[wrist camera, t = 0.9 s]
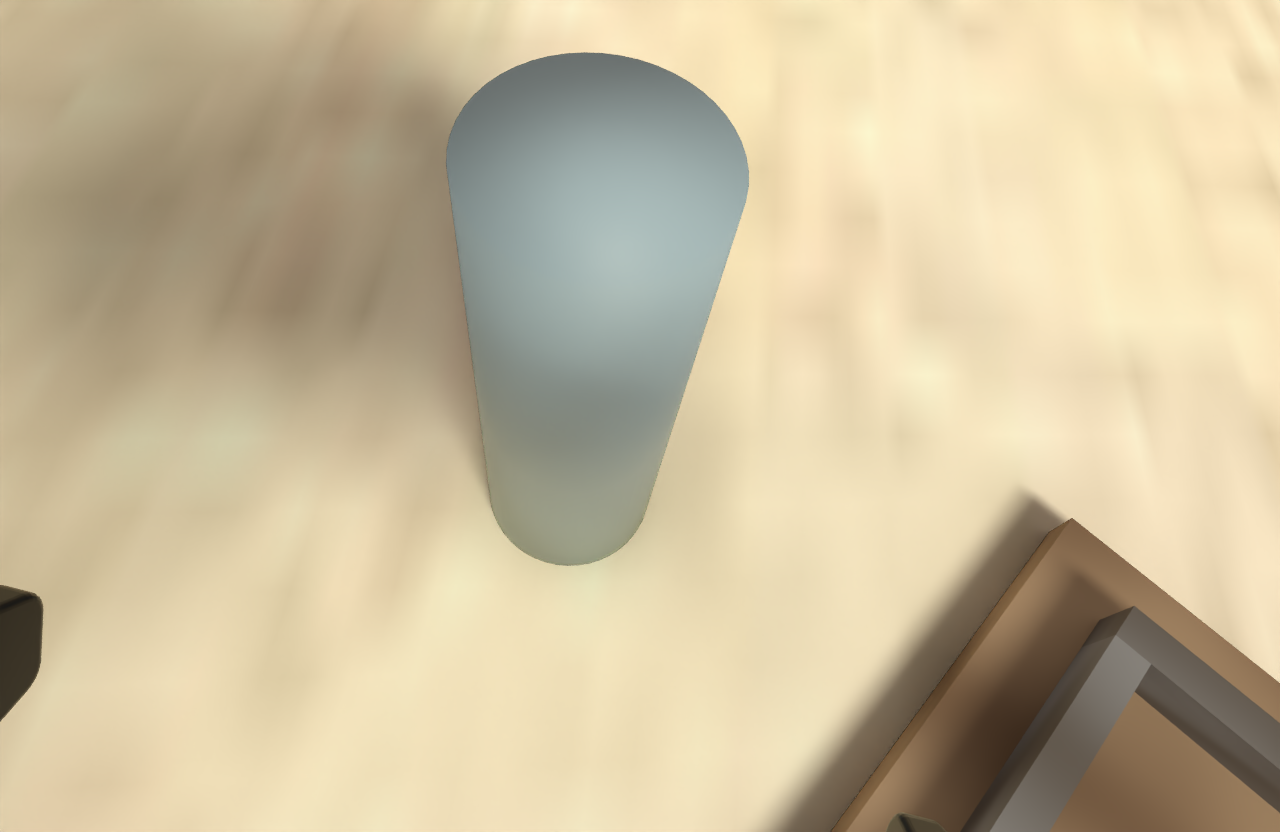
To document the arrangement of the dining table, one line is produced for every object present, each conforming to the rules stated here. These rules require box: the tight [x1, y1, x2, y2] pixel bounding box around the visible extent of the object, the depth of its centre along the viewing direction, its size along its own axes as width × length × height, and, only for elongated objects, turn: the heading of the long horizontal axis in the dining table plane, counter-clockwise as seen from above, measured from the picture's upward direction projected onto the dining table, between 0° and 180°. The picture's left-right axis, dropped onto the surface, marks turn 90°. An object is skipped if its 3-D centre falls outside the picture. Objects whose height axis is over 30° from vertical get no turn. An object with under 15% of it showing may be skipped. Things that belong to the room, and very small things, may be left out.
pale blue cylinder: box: [446, 53, 749, 566], centre depth 18 cm, size 4×4×13 cm
